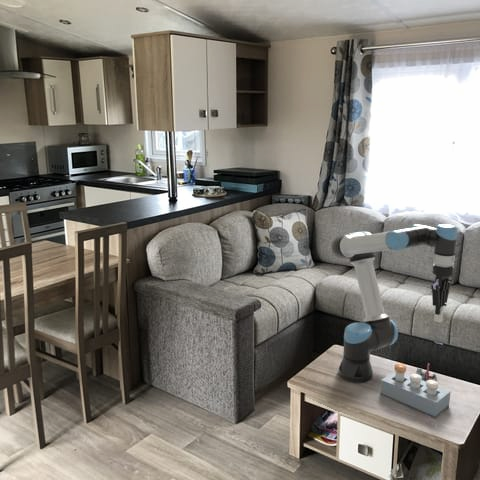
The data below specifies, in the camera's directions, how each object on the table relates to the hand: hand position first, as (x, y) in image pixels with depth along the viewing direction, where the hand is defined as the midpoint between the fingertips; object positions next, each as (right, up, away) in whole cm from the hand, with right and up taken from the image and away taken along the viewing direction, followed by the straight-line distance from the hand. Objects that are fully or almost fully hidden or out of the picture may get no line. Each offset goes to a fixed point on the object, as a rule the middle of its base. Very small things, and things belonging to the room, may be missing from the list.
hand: (438, 321), depth 201 cm
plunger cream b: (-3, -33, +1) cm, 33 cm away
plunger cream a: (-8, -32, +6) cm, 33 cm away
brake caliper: (+1, -31, +17) cm, 36 cm away
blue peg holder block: (-8, -34, +6) cm, 35 cm away
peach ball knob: (-12, -29, +10) cm, 33 cm away
